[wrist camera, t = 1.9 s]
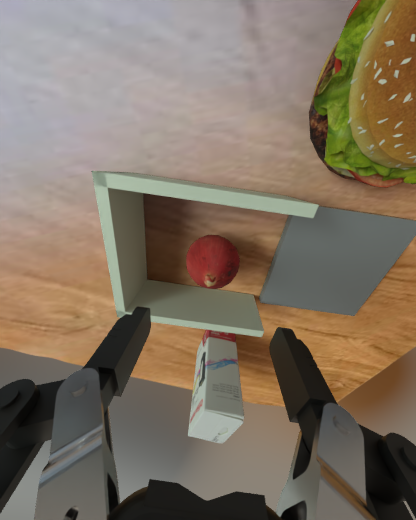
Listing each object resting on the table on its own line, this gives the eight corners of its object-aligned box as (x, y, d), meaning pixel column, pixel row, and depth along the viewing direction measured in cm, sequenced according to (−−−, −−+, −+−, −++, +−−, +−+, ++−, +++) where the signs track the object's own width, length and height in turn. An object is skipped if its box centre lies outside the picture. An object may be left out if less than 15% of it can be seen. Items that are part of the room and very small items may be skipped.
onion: (238, 228, 20) (250, 257, 13) (233, 268, 22) (240, 311, 15) (191, 225, 20) (176, 252, 13) (191, 266, 23) (179, 306, 16)
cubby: (141, 284, 25) (117, 317, 19) (133, 172, 18) (91, 170, 12) (251, 299, 25) (261, 337, 19) (286, 195, 18) (319, 204, 12)
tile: (258, 298, 25) (260, 302, 24) (293, 201, 18) (297, 203, 17) (349, 310, 25) (354, 316, 24) (415, 220, 18) (425, 222, 17)
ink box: (208, 321, 27) (203, 410, 17) (236, 328, 28) (247, 419, 17) (196, 351, 31) (185, 438, 21) (220, 356, 32) (222, 445, 21)
